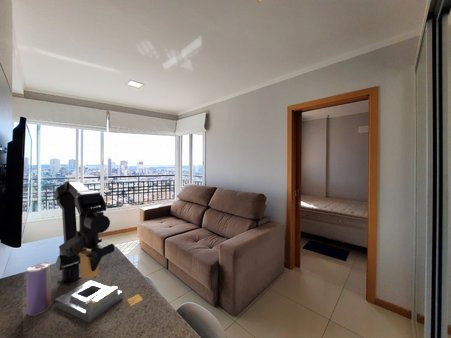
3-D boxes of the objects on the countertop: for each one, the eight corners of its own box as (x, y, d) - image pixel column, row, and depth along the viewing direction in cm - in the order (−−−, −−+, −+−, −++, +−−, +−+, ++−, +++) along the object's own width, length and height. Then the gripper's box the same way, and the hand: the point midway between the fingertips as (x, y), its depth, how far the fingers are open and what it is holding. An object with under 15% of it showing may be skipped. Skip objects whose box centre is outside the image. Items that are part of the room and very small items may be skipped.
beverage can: (36, 318, 62) (35, 272, 62) (22, 315, 63) (21, 270, 63) (55, 304, 68) (55, 263, 68) (42, 302, 69) (41, 261, 69)
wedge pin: (79, 277, 68) (78, 252, 68) (92, 270, 73) (92, 247, 72) (87, 280, 67) (87, 254, 66) (100, 273, 71) (100, 249, 71)
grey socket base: (55, 306, 67) (55, 293, 67) (90, 286, 79) (90, 275, 78) (88, 322, 61) (88, 308, 61) (122, 298, 72) (122, 286, 72)
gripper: (46, 230, 65) (47, 275, 65) (82, 238, 58) (82, 289, 59) (81, 221, 75) (82, 260, 76) (115, 227, 68) (115, 270, 69)
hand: (89, 269), depth 69 cm, fingers closed on wedge pin, 4 cm apart
